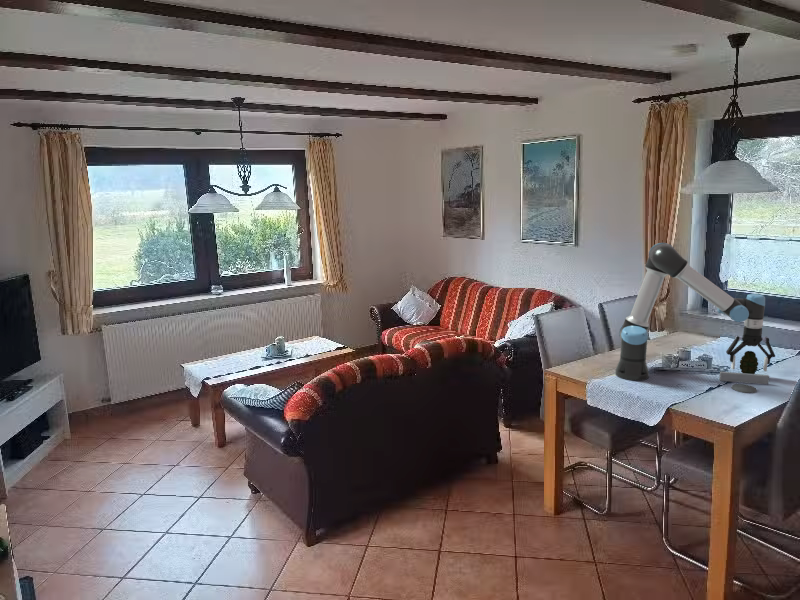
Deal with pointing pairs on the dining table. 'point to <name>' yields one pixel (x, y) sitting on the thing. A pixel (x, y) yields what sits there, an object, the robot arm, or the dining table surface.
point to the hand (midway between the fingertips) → (748, 369)
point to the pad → (744, 388)
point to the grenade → (749, 363)
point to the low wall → (744, 377)
